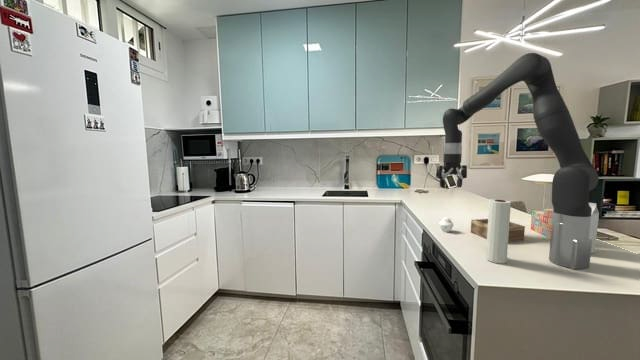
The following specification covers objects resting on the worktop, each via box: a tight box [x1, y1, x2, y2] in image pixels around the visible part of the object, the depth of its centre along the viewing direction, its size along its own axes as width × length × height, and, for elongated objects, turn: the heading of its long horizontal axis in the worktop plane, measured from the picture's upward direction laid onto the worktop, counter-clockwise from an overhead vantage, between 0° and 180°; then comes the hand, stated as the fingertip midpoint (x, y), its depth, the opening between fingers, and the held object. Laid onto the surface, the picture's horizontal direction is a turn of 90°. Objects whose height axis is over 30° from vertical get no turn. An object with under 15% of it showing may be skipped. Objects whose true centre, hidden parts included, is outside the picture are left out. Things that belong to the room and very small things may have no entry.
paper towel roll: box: [485, 197, 512, 264], centre depth 92 cm, size 7×6×21 cm
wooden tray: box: [470, 218, 526, 243], centre depth 118 cm, size 14×14×6 cm
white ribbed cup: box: [438, 216, 454, 233], centre depth 126 cm, size 6×6×7 cm
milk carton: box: [589, 202, 600, 254], centre depth 99 cm, size 7×7×19 cm
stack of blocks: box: [530, 208, 553, 240], centre depth 117 cm, size 21×6×12 cm, turn 169°
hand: (450, 187), depth 125 cm, fingers open, 8 cm apart
